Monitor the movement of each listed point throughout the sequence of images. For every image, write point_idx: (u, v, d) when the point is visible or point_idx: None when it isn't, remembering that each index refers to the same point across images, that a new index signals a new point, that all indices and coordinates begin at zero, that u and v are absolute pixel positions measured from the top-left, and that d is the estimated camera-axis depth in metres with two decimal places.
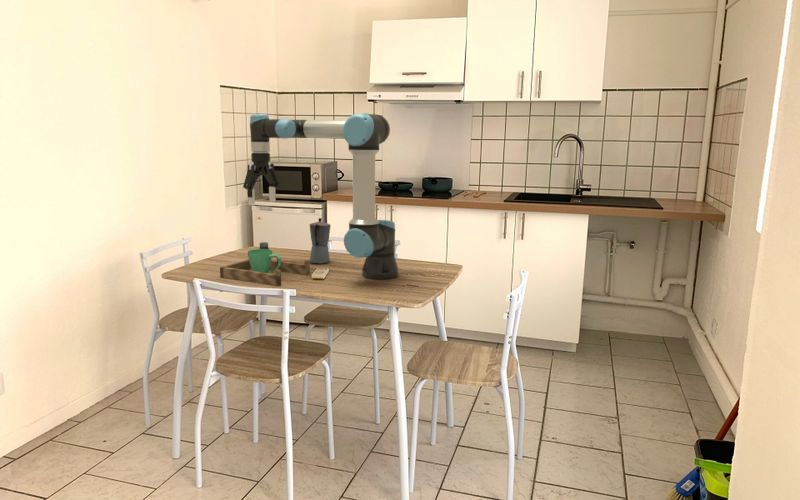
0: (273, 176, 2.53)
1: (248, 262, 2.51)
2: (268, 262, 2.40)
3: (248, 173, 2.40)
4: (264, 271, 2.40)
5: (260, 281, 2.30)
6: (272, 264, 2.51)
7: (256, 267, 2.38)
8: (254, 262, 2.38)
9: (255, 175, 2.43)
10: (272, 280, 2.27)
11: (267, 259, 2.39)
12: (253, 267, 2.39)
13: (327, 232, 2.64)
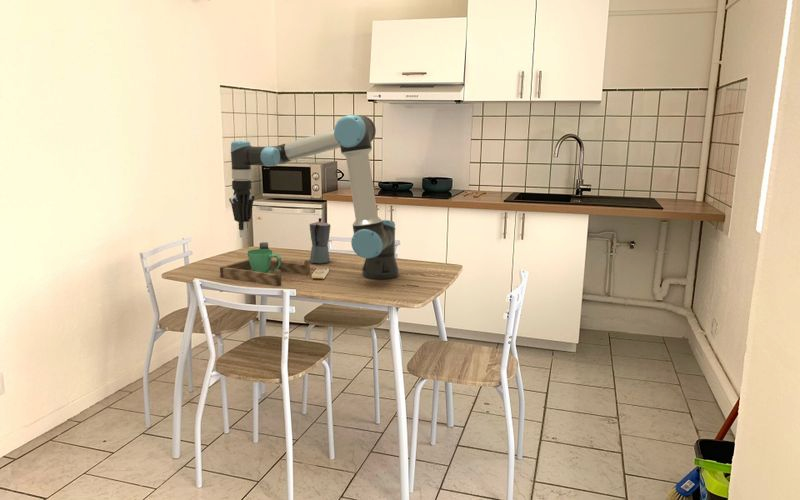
0: (249, 208, 2.44)
1: (248, 262, 2.51)
2: (268, 262, 2.40)
3: (233, 207, 2.37)
4: (264, 271, 2.40)
5: (260, 281, 2.30)
6: (272, 264, 2.51)
7: (256, 267, 2.38)
8: (254, 262, 2.38)
9: (240, 206, 2.39)
10: (272, 280, 2.27)
11: (267, 259, 2.39)
12: (253, 267, 2.39)
13: (327, 232, 2.64)
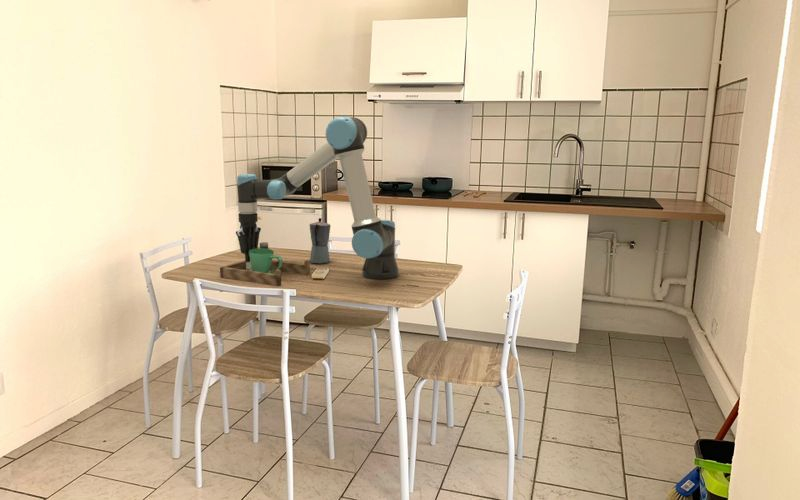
0: (255, 240, 2.45)
1: None
2: (269, 262, 2.40)
3: (239, 240, 2.38)
4: (264, 271, 2.40)
5: (260, 281, 2.30)
6: (272, 264, 2.51)
7: (257, 267, 2.38)
8: (255, 262, 2.37)
9: (246, 239, 2.41)
10: (272, 280, 2.27)
11: (268, 259, 2.39)
12: (254, 267, 2.39)
13: (327, 232, 2.64)
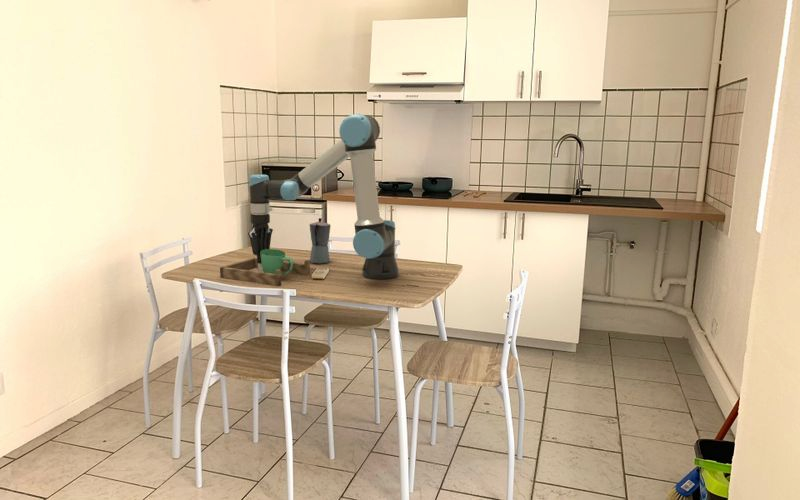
0: (267, 241, 2.43)
1: (248, 262, 2.51)
2: (280, 264, 2.37)
3: (251, 241, 2.36)
4: None
5: (260, 281, 2.30)
6: None
7: (267, 268, 2.36)
8: (266, 263, 2.35)
9: (258, 240, 2.38)
10: (272, 280, 2.27)
11: (279, 261, 2.36)
12: (264, 268, 2.36)
13: (327, 232, 2.64)
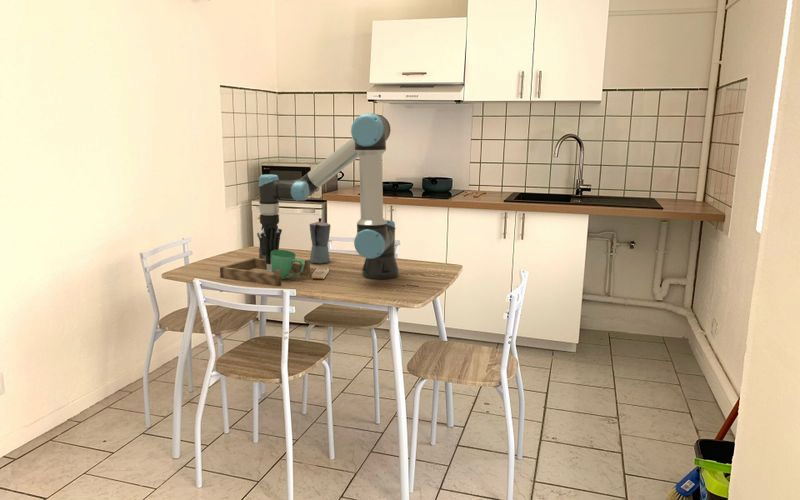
0: (276, 242, 2.41)
1: (248, 262, 2.51)
2: (290, 266, 2.36)
3: (261, 242, 2.34)
4: (285, 274, 2.36)
5: (260, 281, 2.30)
6: None
7: (278, 269, 2.34)
8: (277, 265, 2.33)
9: (268, 240, 2.36)
10: (272, 280, 2.27)
11: (290, 263, 2.34)
12: (274, 269, 2.34)
13: (327, 232, 2.64)
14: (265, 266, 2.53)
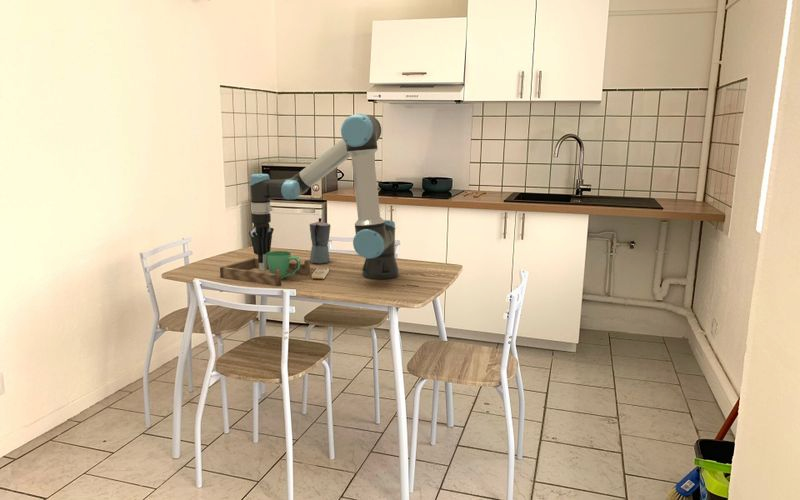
0: (268, 241, 2.42)
1: (248, 262, 2.51)
2: (287, 264, 2.36)
3: (252, 240, 2.35)
4: (283, 274, 2.36)
5: (260, 281, 2.30)
6: None
7: (275, 269, 2.34)
8: (273, 265, 2.34)
9: (259, 239, 2.38)
10: (272, 280, 2.27)
11: (286, 261, 2.35)
12: (272, 269, 2.35)
13: (327, 232, 2.64)
14: None
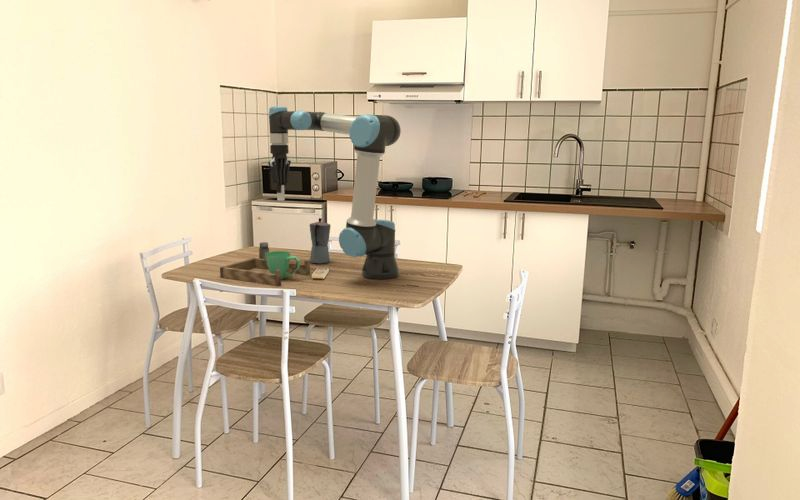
0: (285, 172, 2.53)
1: (248, 262, 2.51)
2: (286, 264, 2.36)
3: (272, 170, 2.46)
4: (282, 274, 2.36)
5: (260, 281, 2.30)
6: None
7: (274, 270, 2.34)
8: (273, 265, 2.34)
9: (278, 169, 2.48)
10: (272, 280, 2.27)
11: (286, 261, 2.35)
12: (271, 270, 2.35)
13: (327, 232, 2.64)
14: (265, 266, 2.53)
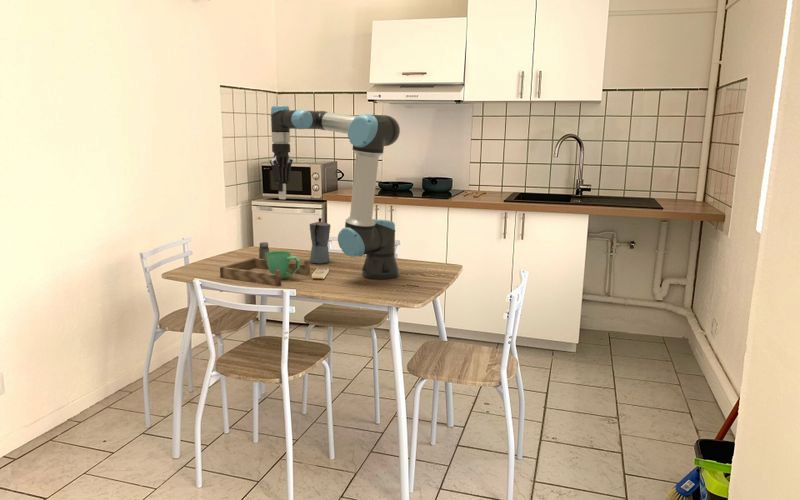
0: (287, 171, 2.55)
1: (248, 262, 2.51)
2: (286, 264, 2.36)
3: (273, 169, 2.48)
4: (282, 274, 2.36)
5: (260, 281, 2.30)
6: None
7: (274, 270, 2.34)
8: (273, 265, 2.34)
9: (280, 168, 2.50)
10: (272, 280, 2.27)
11: (286, 261, 2.35)
12: (271, 270, 2.35)
13: (327, 232, 2.64)
14: (265, 266, 2.53)
